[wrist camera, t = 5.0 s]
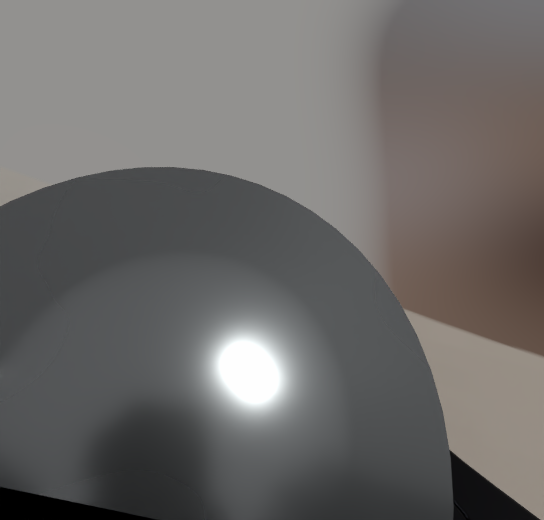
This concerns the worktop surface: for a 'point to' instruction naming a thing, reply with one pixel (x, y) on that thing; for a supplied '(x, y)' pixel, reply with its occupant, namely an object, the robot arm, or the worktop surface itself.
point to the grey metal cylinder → (205, 361)
